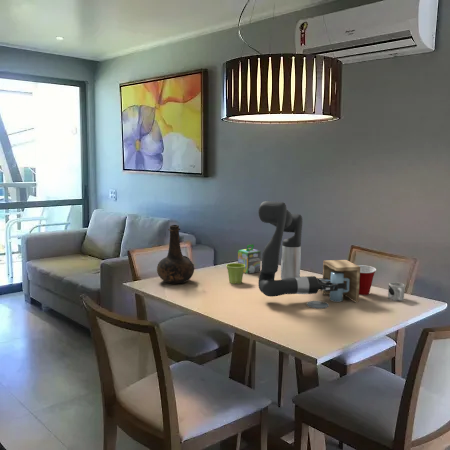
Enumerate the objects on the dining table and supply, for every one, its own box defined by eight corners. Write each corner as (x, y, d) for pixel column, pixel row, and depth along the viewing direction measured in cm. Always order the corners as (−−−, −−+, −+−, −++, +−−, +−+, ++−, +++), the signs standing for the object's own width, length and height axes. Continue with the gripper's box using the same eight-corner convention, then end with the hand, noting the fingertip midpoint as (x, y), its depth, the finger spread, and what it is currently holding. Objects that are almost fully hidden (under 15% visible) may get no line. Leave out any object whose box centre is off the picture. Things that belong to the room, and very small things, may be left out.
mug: (385, 296, 222) (386, 282, 221) (400, 296, 222) (401, 282, 221) (393, 303, 212) (394, 288, 211) (408, 303, 212) (409, 288, 211)
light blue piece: (332, 301, 212) (333, 274, 211) (327, 298, 218) (328, 271, 216) (350, 301, 214) (352, 274, 212) (345, 297, 219) (346, 271, 218)
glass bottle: (201, 282, 242) (201, 225, 238) (171, 288, 230) (171, 229, 226) (179, 275, 255) (179, 221, 251) (149, 281, 243) (149, 224, 239)
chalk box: (250, 268, 273) (250, 242, 271) (261, 271, 266) (261, 244, 264) (236, 270, 268) (237, 243, 266) (247, 274, 260) (248, 246, 258)
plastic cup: (347, 294, 224) (348, 268, 222) (353, 289, 233) (354, 264, 232) (372, 298, 219) (373, 271, 217) (377, 292, 228) (378, 266, 227)
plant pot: (238, 286, 236) (239, 268, 235) (222, 283, 241) (222, 265, 240) (248, 281, 244) (248, 264, 243) (232, 279, 249) (232, 262, 248)
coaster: (308, 308, 203) (308, 307, 203) (305, 302, 212) (305, 300, 212) (330, 308, 203) (330, 307, 203) (326, 302, 212) (326, 300, 212)
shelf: (334, 303, 211) (336, 267, 209) (322, 293, 225) (323, 260, 223) (358, 302, 213) (360, 266, 211) (344, 292, 227) (345, 259, 225)
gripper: (311, 280, 204) (349, 279, 208) (300, 272, 218) (336, 271, 222) (310, 298, 205) (349, 296, 209) (299, 289, 219) (335, 287, 223)
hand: (342, 283), depth 215 cm, fingers closed on light blue piece, 5 cm apart
